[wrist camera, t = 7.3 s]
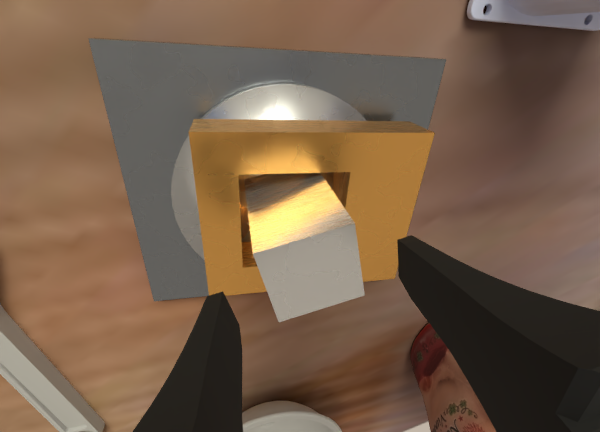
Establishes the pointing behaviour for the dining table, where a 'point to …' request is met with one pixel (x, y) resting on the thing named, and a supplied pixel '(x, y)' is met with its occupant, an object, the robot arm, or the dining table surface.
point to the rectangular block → (302, 243)
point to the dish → (286, 418)
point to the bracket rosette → (260, 148)
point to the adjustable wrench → (42, 382)
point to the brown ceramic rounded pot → (445, 387)
